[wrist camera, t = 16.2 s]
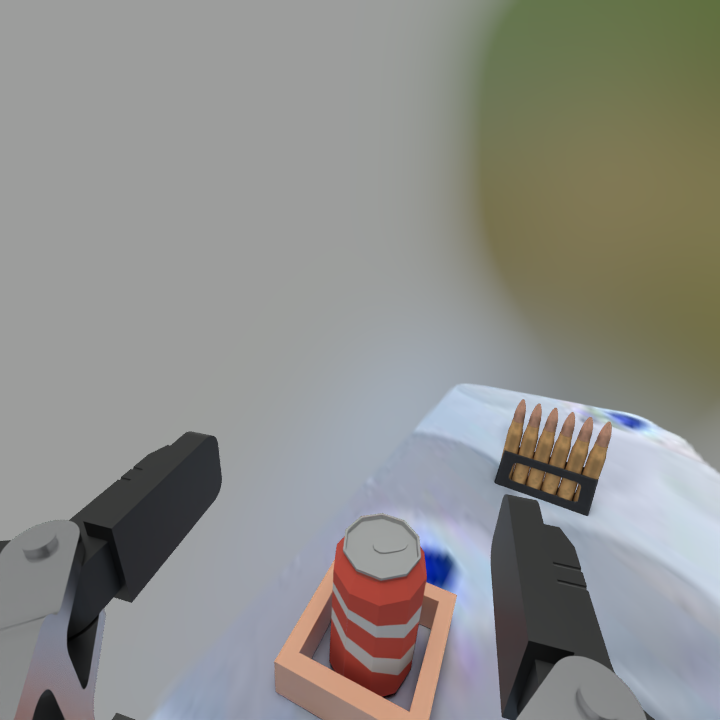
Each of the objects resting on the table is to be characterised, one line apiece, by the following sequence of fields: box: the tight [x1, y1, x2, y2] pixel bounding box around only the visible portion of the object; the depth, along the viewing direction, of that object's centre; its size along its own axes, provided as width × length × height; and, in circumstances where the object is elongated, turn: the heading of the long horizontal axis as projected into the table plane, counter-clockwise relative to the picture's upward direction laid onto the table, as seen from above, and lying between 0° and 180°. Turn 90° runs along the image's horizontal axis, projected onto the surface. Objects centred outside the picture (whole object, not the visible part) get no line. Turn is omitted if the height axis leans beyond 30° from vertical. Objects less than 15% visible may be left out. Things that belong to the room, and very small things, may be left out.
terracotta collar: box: [274, 560, 457, 720], centre depth 30 cm, size 10×10×4 cm
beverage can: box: [329, 513, 427, 697], centre depth 28 cm, size 6×6×12 cm
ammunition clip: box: [495, 399, 612, 516], centre depth 47 cm, size 11×2×12 cm, turn 62°
